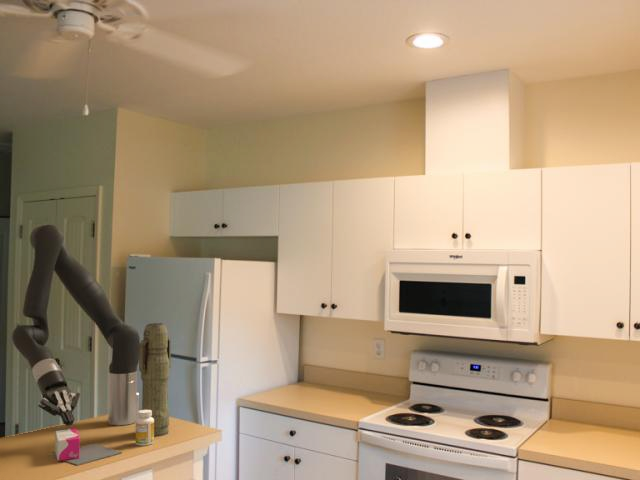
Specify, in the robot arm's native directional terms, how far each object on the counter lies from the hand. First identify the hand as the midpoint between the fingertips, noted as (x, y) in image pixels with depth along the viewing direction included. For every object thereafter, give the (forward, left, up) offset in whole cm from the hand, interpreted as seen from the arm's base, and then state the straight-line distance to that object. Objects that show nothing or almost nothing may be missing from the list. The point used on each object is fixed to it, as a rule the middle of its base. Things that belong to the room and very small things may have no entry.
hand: (70, 423), depth 183 cm
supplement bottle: (-17, +12, -8) cm, 22 cm away
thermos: (-26, +5, -8) cm, 28 cm away
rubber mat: (0, +8, -7) cm, 11 cm away
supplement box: (+1, -1, -4) cm, 5 cm away
